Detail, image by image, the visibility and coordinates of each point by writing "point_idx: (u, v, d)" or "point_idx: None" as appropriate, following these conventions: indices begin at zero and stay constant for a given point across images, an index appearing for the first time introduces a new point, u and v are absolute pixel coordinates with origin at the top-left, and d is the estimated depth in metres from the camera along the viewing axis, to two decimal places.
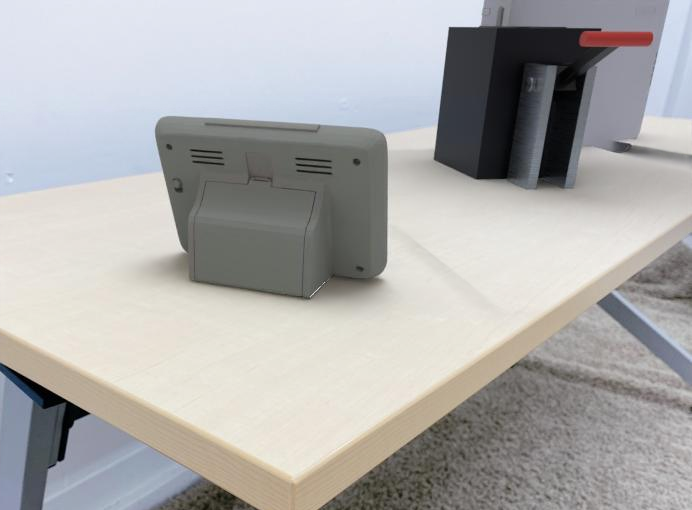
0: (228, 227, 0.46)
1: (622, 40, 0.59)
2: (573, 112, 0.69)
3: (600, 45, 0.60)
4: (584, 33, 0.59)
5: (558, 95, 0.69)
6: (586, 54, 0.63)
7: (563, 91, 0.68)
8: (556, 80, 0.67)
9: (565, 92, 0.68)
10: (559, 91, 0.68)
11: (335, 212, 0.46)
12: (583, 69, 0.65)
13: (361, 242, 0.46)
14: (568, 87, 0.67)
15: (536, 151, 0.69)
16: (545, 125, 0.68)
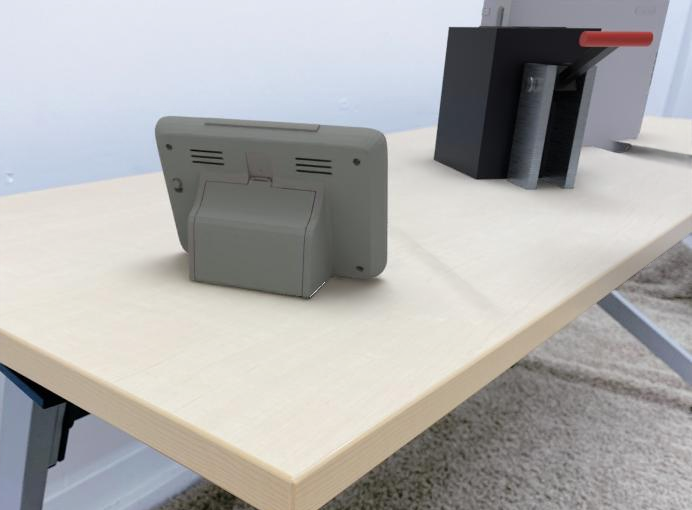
0: (228, 227, 0.46)
1: (622, 40, 0.59)
2: (573, 112, 0.69)
3: (600, 45, 0.60)
4: (584, 33, 0.59)
5: (558, 95, 0.69)
6: (586, 54, 0.63)
7: (563, 91, 0.68)
8: (556, 80, 0.67)
9: (565, 92, 0.68)
10: (559, 91, 0.68)
11: (335, 212, 0.46)
12: (583, 69, 0.65)
13: (361, 242, 0.46)
14: (568, 87, 0.67)
15: (536, 151, 0.69)
16: (545, 125, 0.68)
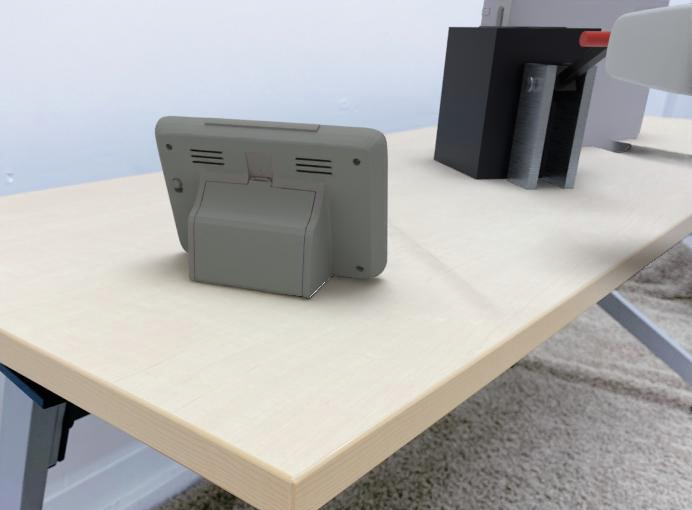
0: (228, 227, 0.46)
1: None
2: (573, 112, 0.69)
3: (600, 45, 0.60)
4: (584, 33, 0.59)
5: (558, 95, 0.69)
6: (586, 54, 0.63)
7: (563, 91, 0.68)
8: (556, 80, 0.67)
9: (565, 92, 0.68)
10: (559, 91, 0.68)
11: (335, 212, 0.46)
12: (583, 69, 0.65)
13: (361, 242, 0.46)
14: (568, 87, 0.67)
15: (536, 151, 0.69)
16: (545, 125, 0.68)
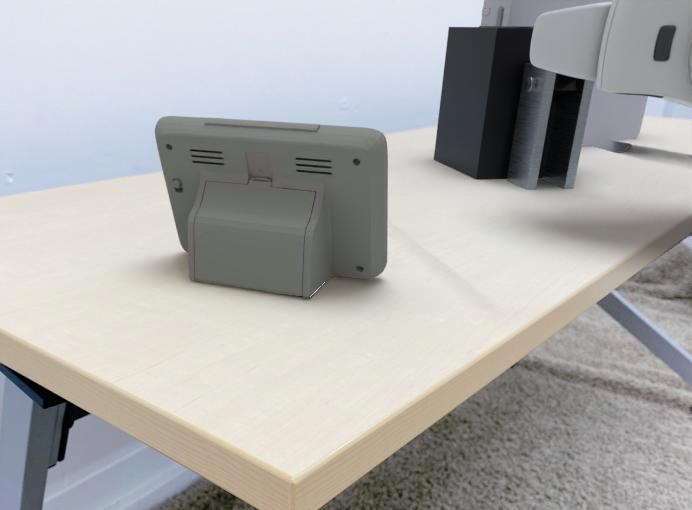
0: (228, 227, 0.46)
1: None
2: (573, 112, 0.69)
3: None
4: None
5: (558, 95, 0.69)
6: None
7: (563, 91, 0.68)
8: (556, 80, 0.67)
9: (565, 92, 0.68)
10: (559, 91, 0.68)
11: (335, 212, 0.46)
12: None
13: (361, 242, 0.46)
14: (568, 87, 0.67)
15: (536, 151, 0.69)
16: (545, 125, 0.68)
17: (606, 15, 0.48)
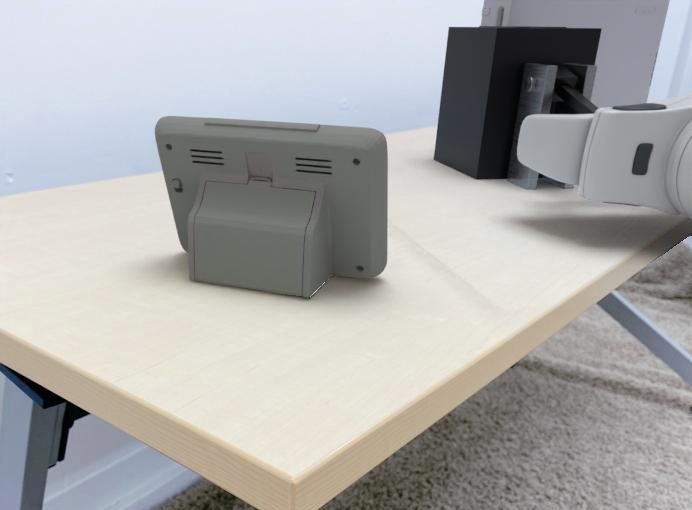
0: (228, 227, 0.46)
1: None
2: (573, 112, 0.69)
3: None
4: None
5: None
6: (580, 105, 0.64)
7: None
8: (553, 92, 0.68)
9: None
10: (553, 101, 0.69)
11: (335, 212, 0.46)
12: None
13: (361, 242, 0.46)
14: None
15: None
16: None
17: (588, 128, 0.51)
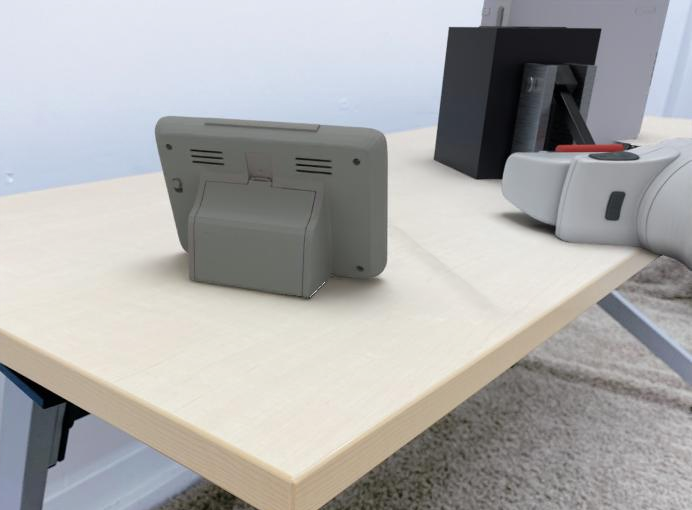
0: (228, 227, 0.46)
1: None
2: None
3: None
4: (560, 150, 0.64)
5: None
6: (572, 123, 0.66)
7: None
8: None
9: None
10: None
11: (335, 212, 0.46)
12: None
13: (361, 242, 0.46)
14: None
15: (536, 151, 0.69)
16: (545, 125, 0.68)
17: (566, 172, 0.53)
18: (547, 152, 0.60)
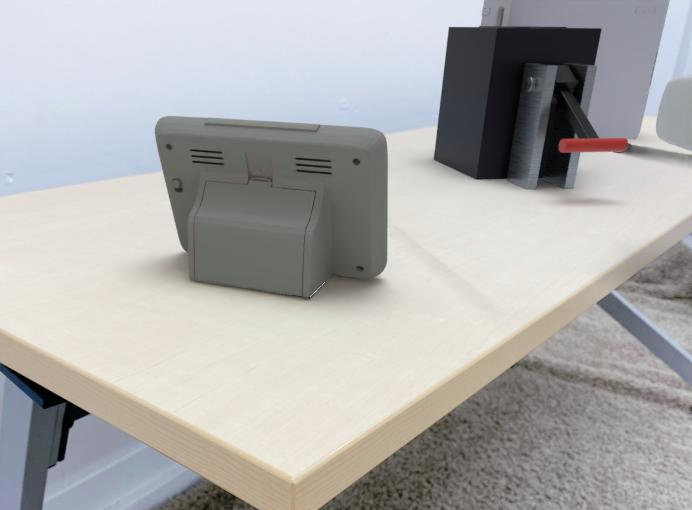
0: (228, 227, 0.46)
1: (595, 151, 0.64)
2: None
3: None
4: (564, 144, 0.63)
5: None
6: (574, 119, 0.65)
7: None
8: (552, 95, 0.68)
9: None
10: None
11: (335, 212, 0.46)
12: None
13: (361, 242, 0.46)
14: None
15: (536, 151, 0.69)
16: (545, 125, 0.68)
17: None
18: None
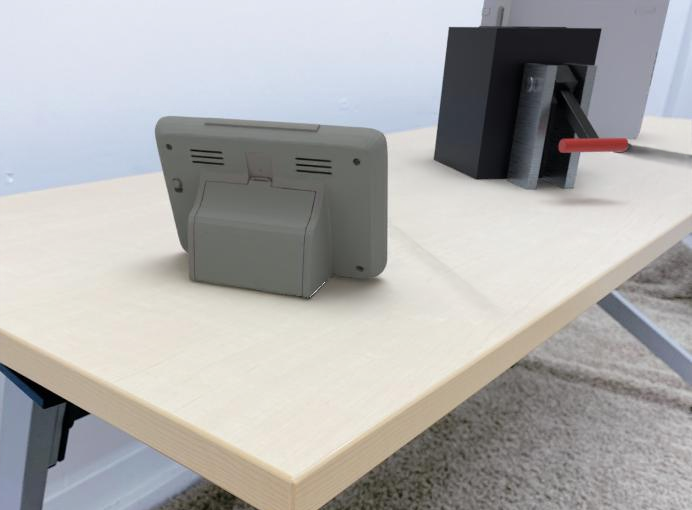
0: (228, 227, 0.46)
1: (595, 151, 0.64)
2: None
3: None
4: (564, 144, 0.63)
5: None
6: (574, 119, 0.65)
7: None
8: (552, 95, 0.68)
9: None
10: None
11: (335, 212, 0.46)
12: None
13: (361, 242, 0.46)
14: None
15: (536, 151, 0.69)
16: (545, 125, 0.68)
17: None
18: None
